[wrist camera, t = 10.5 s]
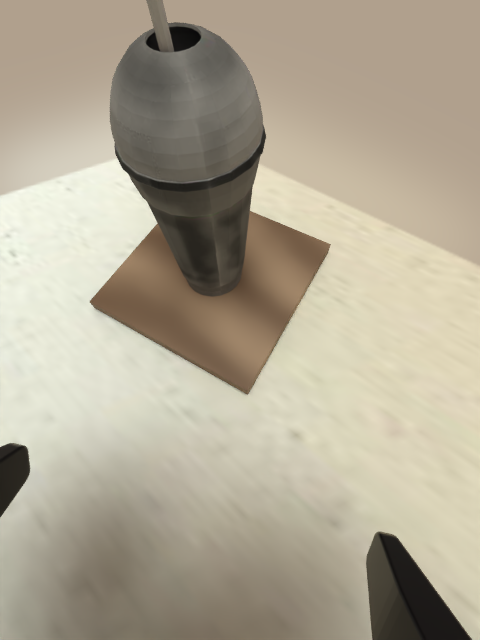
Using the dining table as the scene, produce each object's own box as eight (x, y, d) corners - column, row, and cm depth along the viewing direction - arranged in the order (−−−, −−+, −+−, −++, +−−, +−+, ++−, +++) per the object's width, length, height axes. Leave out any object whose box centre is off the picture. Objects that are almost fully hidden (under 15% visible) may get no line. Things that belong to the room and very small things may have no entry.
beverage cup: (270, 248, 27) (312, -213, 9) (242, 324, 24) (220, -138, 6) (189, 227, 28) (83, -216, 10) (152, 297, 25) (-87, -154, 7)
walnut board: (247, 394, 23) (247, 391, 22) (94, 307, 26) (89, 301, 25) (327, 252, 28) (330, 244, 27) (191, 194, 31) (190, 186, 30)
